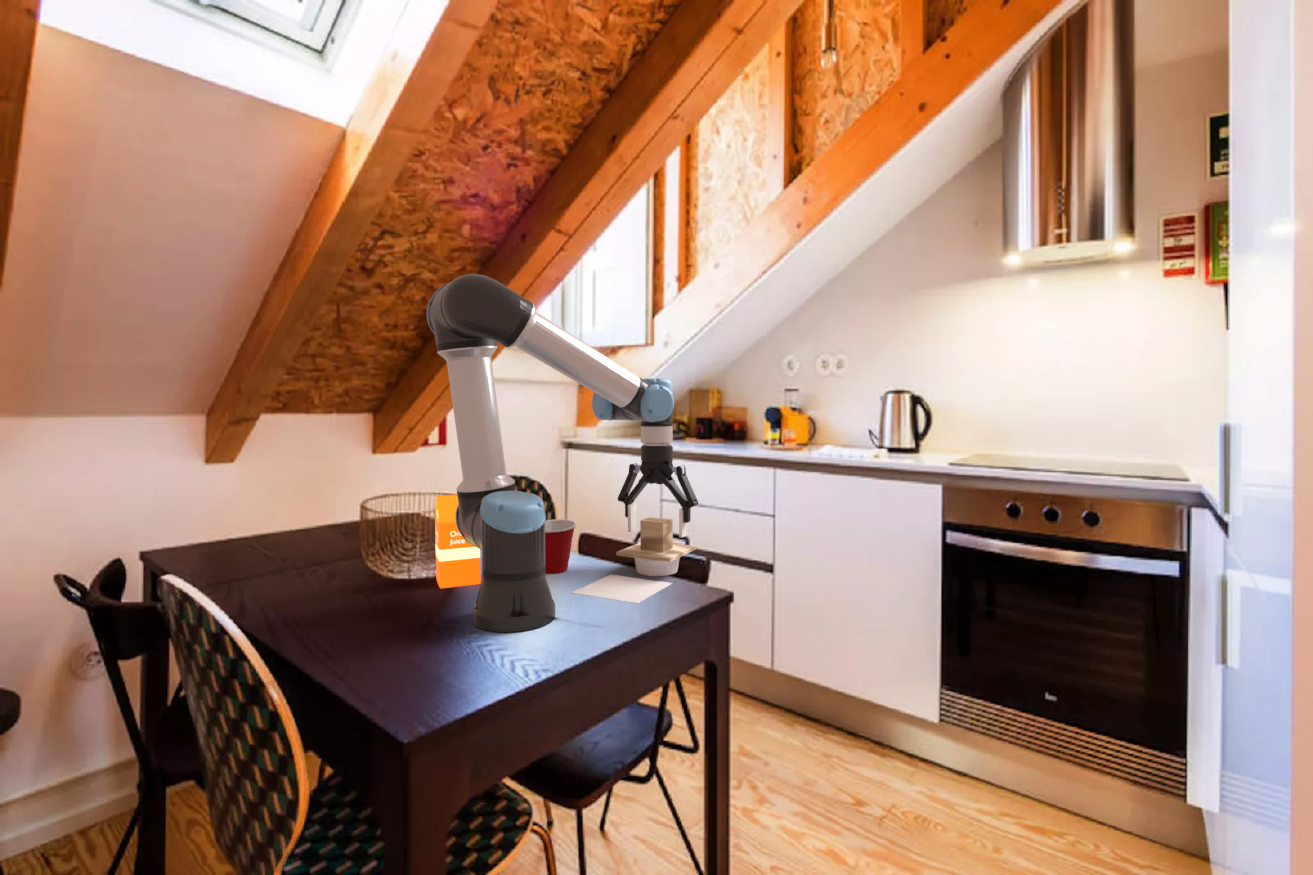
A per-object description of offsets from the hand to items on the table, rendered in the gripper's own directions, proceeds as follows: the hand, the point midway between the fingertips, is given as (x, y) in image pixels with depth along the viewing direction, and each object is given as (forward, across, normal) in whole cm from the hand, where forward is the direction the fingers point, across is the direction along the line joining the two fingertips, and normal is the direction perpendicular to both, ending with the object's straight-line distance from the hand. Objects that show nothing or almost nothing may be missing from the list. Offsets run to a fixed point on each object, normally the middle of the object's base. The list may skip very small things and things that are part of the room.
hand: (657, 533), depth 154 cm
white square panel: (+9, 0, +16) cm, 19 cm away
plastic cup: (+10, +22, +11) cm, 26 cm away
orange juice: (+10, +37, +27) cm, 47 cm away
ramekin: (+10, 0, 0) cm, 10 cm away
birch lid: (+4, 0, 0) cm, 4 cm away
